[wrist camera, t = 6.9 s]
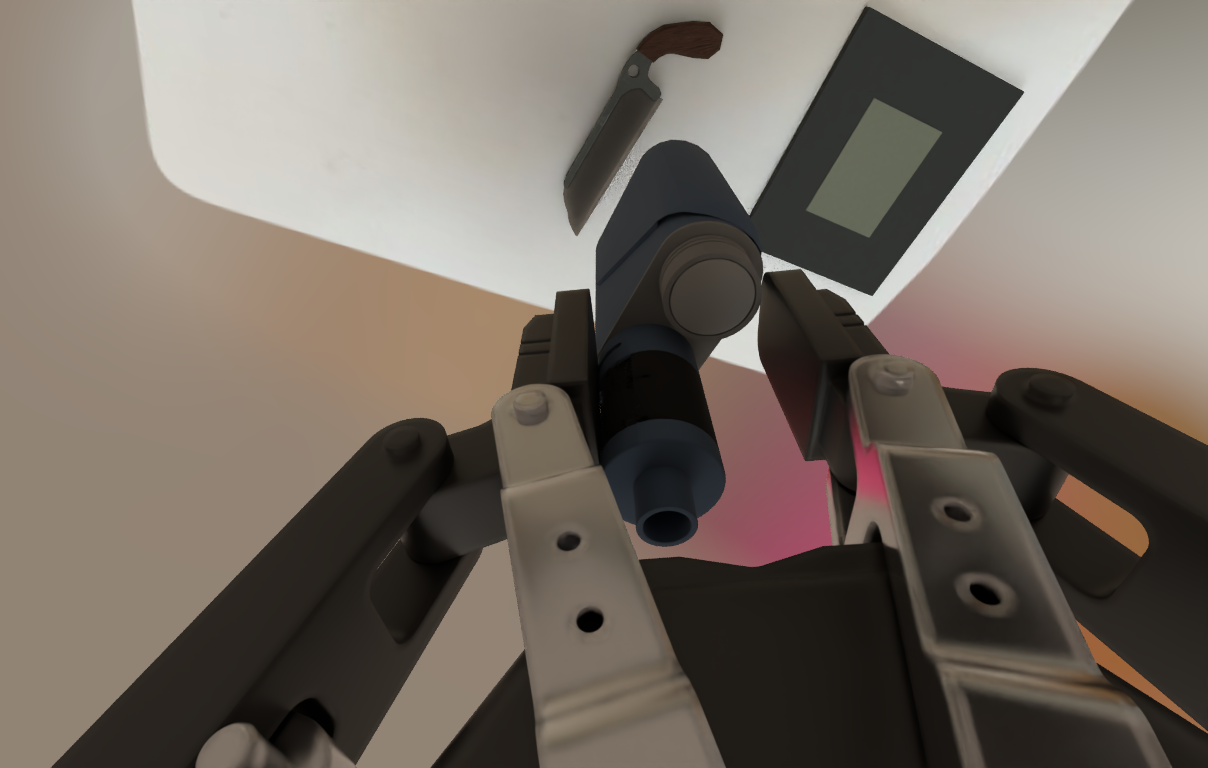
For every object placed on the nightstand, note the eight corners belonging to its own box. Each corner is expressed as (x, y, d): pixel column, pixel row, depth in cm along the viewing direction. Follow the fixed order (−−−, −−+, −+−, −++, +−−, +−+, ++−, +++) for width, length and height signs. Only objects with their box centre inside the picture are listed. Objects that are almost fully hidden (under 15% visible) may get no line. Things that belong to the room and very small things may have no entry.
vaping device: (581, 264, 19) (566, 547, 10) (657, 118, 17) (741, 309, 7) (646, 293, 20) (691, 586, 10) (728, 158, 17) (896, 383, 8)
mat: (865, 6, 30) (869, 6, 29) (1019, 90, 32) (1025, 92, 32) (736, 239, 37) (738, 242, 37) (869, 293, 40) (872, 296, 39)
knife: (668, -12, 29) (670, -12, 29) (726, 36, 30) (729, 37, 30) (540, 211, 36) (539, 215, 35) (592, 243, 37) (592, 247, 37)
